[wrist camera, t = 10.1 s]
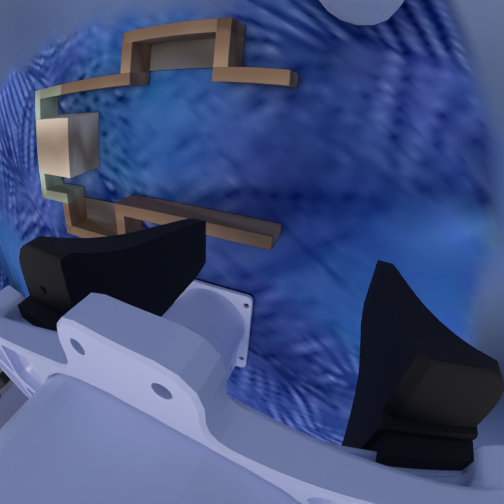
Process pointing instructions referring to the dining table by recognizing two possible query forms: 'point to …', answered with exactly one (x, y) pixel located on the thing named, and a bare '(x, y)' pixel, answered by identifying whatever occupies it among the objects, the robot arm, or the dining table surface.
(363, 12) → the white tapered cup
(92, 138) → the oak block
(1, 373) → the milk frother
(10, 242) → the dining table surface
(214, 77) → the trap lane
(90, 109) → the dining table surface
